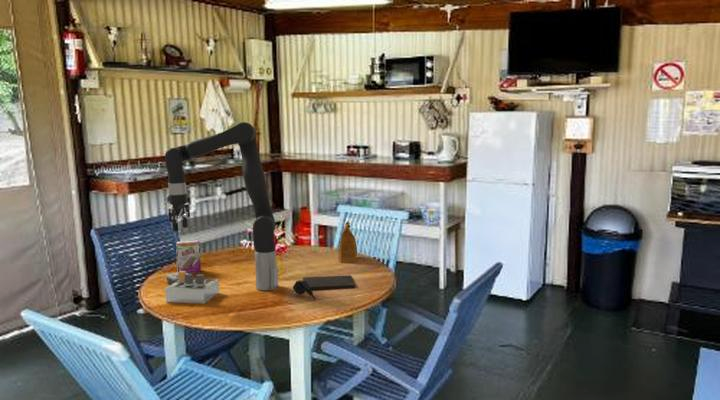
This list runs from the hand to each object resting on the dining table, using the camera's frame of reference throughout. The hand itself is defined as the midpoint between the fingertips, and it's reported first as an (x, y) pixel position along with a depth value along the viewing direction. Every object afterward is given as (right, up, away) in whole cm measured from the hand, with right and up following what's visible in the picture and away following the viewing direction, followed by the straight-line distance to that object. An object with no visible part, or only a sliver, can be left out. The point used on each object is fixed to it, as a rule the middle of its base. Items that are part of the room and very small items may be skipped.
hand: (180, 229), depth 241 cm
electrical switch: (-2, -27, +13) cm, 30 cm away
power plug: (+59, -31, -10) cm, 68 cm away
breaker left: (+12, -23, -11) cm, 28 cm away
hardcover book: (+65, -27, +10) cm, 71 cm away
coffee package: (+73, -21, +48) cm, 90 cm away
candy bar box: (-6, -24, +31) cm, 40 cm away
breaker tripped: (+3, -22, -6) cm, 23 cm away
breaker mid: (+7, -23, -10) cm, 26 cm away
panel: (+8, -29, -6) cm, 31 cm away
